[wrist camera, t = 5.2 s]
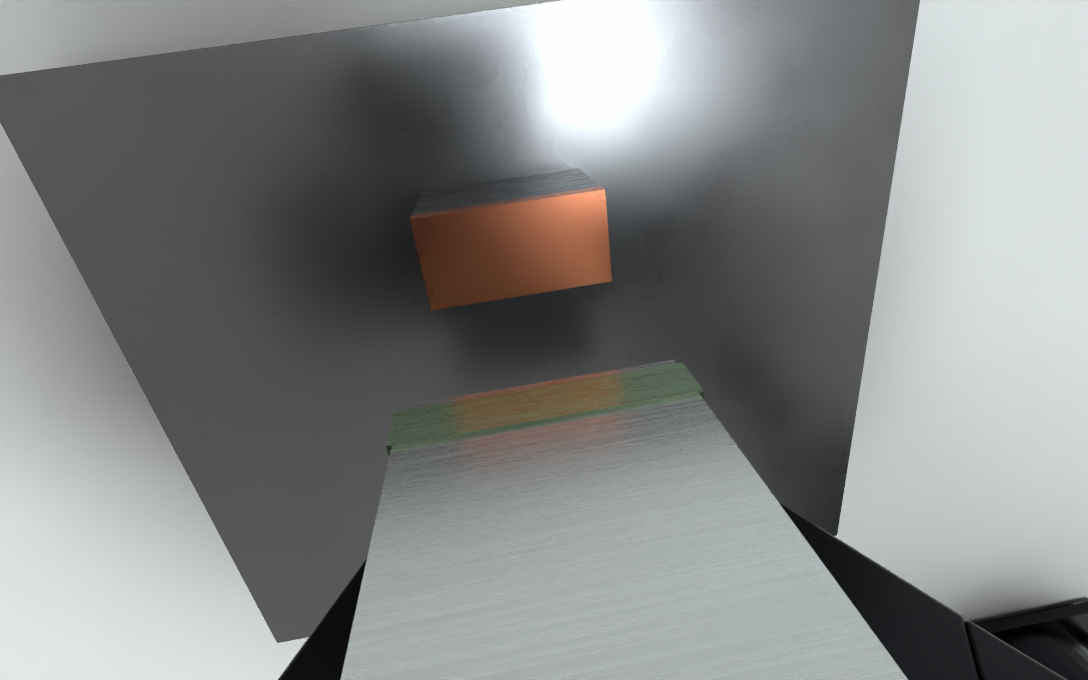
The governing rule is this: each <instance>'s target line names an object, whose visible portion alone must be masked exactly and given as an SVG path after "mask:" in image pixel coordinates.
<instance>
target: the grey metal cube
mask: <svg viewBox="0 0 1088 680" xmlns="http://www.w3.org/2000/svg"><path fill="white" fill-rule="evenodd" d="M386 448H387V452H388V455H389V460H388V465H387V470H386V474H385V479H384V483H383V488H382V492H381V497H380V502H379V506H378V511H377V515H376V520H375V524H374V529H373V533H372V538H371V543H370V547H369V552H368V556H367V561H366V565H365V570H364V575H363V579H362V584H361V588H360V593H359V597H358V602H357V607H356V611H355V616H354V620H353V625H352V629H351V634H350V639H349V643H348V648H347V652H346V657H345V661H344V666H343V670H342V675H341V680H908V679H907V678H906V676H905V675H904V673H903V672H902V671H901V669H900V668H899V667H898V665H897V664H896V662H895V661H894V660H893V658H892V657H891V656H890V654H889V653H888V651H887V650H886V649H885V647H884V646H883V645H882V643H881V642H880V641H879V639H878V638H877V636H876V635H875V634H874V632H873V631H872V630H871V628H870V627H869V625H868V624H867V623H866V621H865V620H864V619H863V617H862V616H861V615H860V613H859V612H858V610H857V609H856V608H855V606H854V605H853V604H852V602H851V601H850V599H849V598H848V597H847V595H846V594H845V593H844V591H843V590H842V589H841V587H840V586H839V584H838V583H837V582H836V580H835V579H834V578H833V576H832V575H831V573H830V572H829V571H828V569H827V568H826V567H825V565H824V564H823V562H822V561H821V560H820V558H819V557H818V556H817V554H816V553H815V552H814V550H813V549H812V547H811V546H810V545H809V543H808V542H807V541H806V539H805V538H804V536H803V535H802V534H801V532H800V531H799V530H798V528H797V527H796V526H795V524H794V523H793V521H792V520H791V519H790V517H789V516H788V515H787V513H786V512H785V510H784V509H783V508H782V506H781V505H780V504H779V502H778V501H777V500H776V498H775V497H774V495H773V494H772V493H771V491H770V490H769V489H768V487H767V486H766V484H765V483H764V482H763V480H762V479H761V478H760V476H759V475H758V474H757V472H756V471H755V469H754V468H753V467H752V465H751V464H750V463H749V461H748V460H747V458H746V457H745V456H744V454H743V453H742V452H741V450H740V449H739V447H738V446H737V445H736V443H735V442H734V441H733V439H732V438H731V437H730V435H729V434H728V432H727V431H726V430H725V428H724V427H723V426H722V424H721V423H720V421H719V420H718V419H717V417H716V416H715V415H714V413H713V412H712V411H711V409H710V408H709V406H708V405H707V404H706V402H705V401H704V390H703V389H702V388H701V387H700V385H699V384H698V383H697V381H696V380H695V379H694V377H693V376H692V375H691V373H690V372H689V371H688V369H687V368H686V367H685V365H684V364H683V363H682V362H681V363H676V361H675V360H668V361H662V362H656V363H651V364H645V365H639V366H633V367H627V368H621V369H616V370H610V371H604V372H598V373H592V374H586V375H581V376H575V377H569V378H563V379H557V380H551V381H546V382H540V383H534V384H528V385H522V386H516V387H511V388H505V389H499V390H493V391H487V392H482V393H476V394H470V395H464V396H458V397H452V398H447V399H441V400H435V401H429V402H423V403H417V404H412V405H406V406H400V410H399V411H396V412H394V415H393V419H392V423H391V427H390V432H389V436H388V440H387V444H386Z"/></svg>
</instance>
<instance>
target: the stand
mask: <svg viewBox="0 0 1088 680" xmlns="http://www.w3.org/2000/svg"><path fill="white" fill-rule="evenodd" d="M919 3H920V0H562V1H555V2H547V3H540V4H532V5H525V6H517V7H510V8H502V9H495V10H487V11H480V12H473V13H465V14H458V15H450V16H443V17H435V18H428V19H420V20H413V21H405V22H398V23H390V24H383V25H375V26H368V27H360V28H353V29H345V30H338V31H330V32H323V33H315V34H308V35H301V36H293V37H286V38H278V39H271V40H263V41H256V42H248V43H241V44H233V45H226V46H218V47H211V48H203V49H196V50H188V51H181V52H173V53H166V54H158V55H151V56H143V57H136V58H129V59H121V60H114V61H106V62H99V63H91V64H84V65H76V66H69V67H61V68H54V69H46V70H39V71H31V72H24V73H16V74H9V75H1V76H0V123H1V124H2V126H3V128H4V130H5V132H6V134H7V136H8V138H9V139H10V141H11V143H12V145H13V147H14V149H15V151H16V153H17V154H18V156H19V158H20V160H21V162H22V164H23V166H24V168H25V170H26V171H27V173H28V175H29V177H30V179H31V181H32V183H33V185H34V186H35V188H36V190H37V192H38V194H39V196H40V198H41V200H42V201H43V203H44V205H45V207H46V209H47V211H48V213H49V215H50V217H51V218H52V220H53V222H54V224H55V226H56V228H57V230H58V232H59V233H60V235H61V237H62V239H63V241H64V243H65V245H66V247H67V248H68V250H69V252H70V254H71V256H72V258H73V260H74V262H75V264H76V265H77V267H78V269H79V271H80V273H81V275H82V277H83V279H84V280H85V282H86V284H87V286H88V288H89V290H90V292H91V294H92V295H93V297H94V299H95V301H96V303H97V305H98V307H99V309H100V311H101V312H102V314H103V316H104V318H105V320H106V322H107V324H108V326H109V327H110V329H111V331H112V333H113V335H114V337H115V339H116V341H117V342H118V344H119V346H120V348H121V350H122V352H123V354H124V356H125V358H126V359H127V361H128V363H129V365H130V367H131V369H132V371H133V373H134V374H135V376H136V378H137V380H138V382H139V384H140V386H141V388H142V390H143V391H144V393H145V395H146V397H147V399H148V401H149V403H150V405H151V406H152V408H153V410H154V412H155V414H156V416H157V418H158V420H159V421H160V423H161V425H162V427H163V429H164V431H165V433H166V435H167V437H168V438H169V440H170V442H171V444H172V446H173V448H174V450H175V452H176V453H177V455H178V457H179V459H180V461H181V463H182V465H183V467H184V468H185V470H186V472H187V474H188V476H189V478H190V480H191V482H192V484H193V485H194V487H195V489H196V491H197V493H198V495H199V497H200V499H201V500H202V502H203V504H204V506H205V508H206V510H207V512H208V514H209V515H210V517H211V519H212V521H213V523H214V525H215V527H216V529H217V531H218V532H219V534H220V536H221V538H222V540H223V542H224V544H225V546H226V547H227V549H228V551H229V553H230V555H231V557H232V559H233V561H234V562H235V564H236V566H237V568H238V570H239V572H240V574H241V576H242V578H243V579H244V581H245V583H246V585H247V587H248V589H249V591H250V593H251V594H252V596H253V598H254V600H255V602H256V604H257V606H258V608H259V609H260V611H261V613H262V615H263V617H264V619H265V621H266V623H267V625H268V626H269V628H270V630H271V632H272V634H273V636H274V638H275V640H276V641H277V643H280V642H285V641H290V640H295V639H300V638H306V637H310V635H311V634H312V632H313V631H314V630H315V628H316V627H317V626H318V624H319V623H320V622H321V620H322V619H323V617H324V616H325V615H326V613H327V612H328V611H329V609H330V608H331V607H332V605H333V604H334V602H335V601H336V600H337V598H338V597H339V596H340V594H341V593H342V592H343V590H344V589H345V587H346V586H347V585H348V583H349V582H350V581H351V579H352V578H353V577H354V575H355V574H356V572H357V571H358V570H359V568H360V567H361V566H362V564H363V563H364V561H365V560H366V559H367V556H368V552H369V547H370V543H371V538H372V533H373V529H374V524H375V520H376V515H377V511H378V506H379V502H380V497H381V492H382V488H383V483H384V479H385V474H386V470H387V465H388V460H389V455H388V452H387V448H386V444H387V440H388V436H389V432H390V427H391V423H392V419H393V415H394V412H396V411H399V410H400V406H406V405H412V404H417V403H423V402H429V401H435V400H441V399H447V398H452V397H458V396H464V395H470V394H476V393H482V392H487V391H493V390H499V389H505V388H511V387H516V386H522V385H528V384H534V383H540V382H546V381H551V380H557V379H563V378H569V377H575V376H581V375H586V374H592V373H598V372H604V371H610V370H616V369H621V368H627V367H633V366H639V365H645V364H651V363H656V362H662V361H668V360H675V361H676V363H681V362H682V363H683V364H684V365H685V367H686V368H687V369H688V371H689V372H690V373H691V375H692V376H693V377H694V379H695V380H696V381H697V383H698V384H699V385H700V387H701V388H702V389H703V390H704V401H705V402H706V404H707V405H708V406H709V408H710V409H711V411H712V412H713V413H714V415H715V416H716V417H717V419H718V420H719V421H720V423H721V424H722V426H723V427H724V428H725V430H726V431H727V432H728V434H729V435H730V437H731V438H732V439H733V441H734V442H735V443H736V445H737V446H738V447H739V449H740V450H741V452H742V453H743V454H744V456H745V457H746V458H747V460H748V461H749V463H750V464H751V465H752V467H753V468H754V469H755V471H756V472H757V474H758V475H759V476H760V478H761V479H762V480H763V482H764V483H765V484H766V486H767V487H768V489H769V490H770V491H771V493H772V494H773V495H774V497H775V498H776V500H777V501H778V502H780V503H781V504H783V505H784V506H786V507H788V508H789V509H791V510H792V511H794V512H796V513H797V514H799V515H800V516H802V517H804V518H805V519H807V520H808V521H810V522H812V523H813V524H815V525H817V526H818V527H820V528H821V529H823V530H825V531H826V532H828V533H829V534H831V535H833V536H835V535H837V532H838V525H839V519H840V512H841V506H842V499H843V493H844V487H845V480H846V474H847V467H848V461H849V454H850V448H851V441H852V435H853V428H854V422H855V416H856V409H857V403H858V396H859V390H860V383H861V377H862V370H863V364H864V358H865V351H866V345H867V338H868V332H869V325H870V319H871V312H872V306H873V299H874V293H875V287H876V280H877V274H878V267H879V261H880V254H881V248H882V241H883V235H884V229H885V222H886V216H887V209H888V203H889V196H890V190H891V183H892V177H893V170H894V164H895V158H896V151H897V145H898V138H899V132H900V125H901V119H902V112H903V106H904V99H905V93H906V87H907V80H908V74H909V67H910V61H911V54H912V48H913V41H914V35H915V29H916V22H917V16H918V9H919Z"/></svg>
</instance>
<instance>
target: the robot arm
mask: <svg viewBox="0 0 1088 680" xmlns="http://www.w3.org/2000/svg"><path fill="white" fill-rule="evenodd" d="M779 504H780V505H781V506H782V508H783V509H784V510H785V512H786V513H787V515H788V516H789V517H790V519H791V520H792V521H793V523H794V524H795V526H796V527H797V528H798V530H799V531H800V532H801V534H802V535H803V536H804V538H805V539H806V541H807V542H808V543H809V545H810V546H811V547H812V549H813V550H814V552H815V553H816V554H817V556H818V557H819V558H820V560H821V561H822V562H823V564H824V565H825V567H826V568H827V569H828V571H829V572H830V573H831V575H832V576H833V578H834V579H835V580H836V582H837V583H838V584H839V586H840V587H841V589H842V590H843V591H844V593H845V594H846V595H847V597H848V598H849V599H850V601H851V602H852V604H853V605H854V606H855V608H856V609H857V610H858V612H859V613H860V615H861V616H862V617H863V619H864V620H865V621H866V623H867V624H868V625H869V627H870V628H871V630H872V631H873V632H874V634H875V635H876V636H877V638H878V639H879V641H880V642H881V643H882V645H883V646H884V647H885V649H886V650H887V651H888V653H889V654H890V656H891V657H892V658H893V660H894V661H895V662H896V664H897V665H898V667H899V668H900V669H901V671H902V672H903V673H904V675H905V676H906V678H907V679H908V680H1088V602H1086V603H1081V604H1076V605H1071V606H1066V607H1062V608H1057V609H1052V610H1047V611H1042V612H1037V613H1032V614H1027V615H1023V616H1018V617H1013V618H1008V619H1003V620H998V621H993V622H988V623H983V624H979V625H976V624H974V623H973V622H971V621H965V622H964V619H963V617H962V616H961V615H960V614H958V613H956V612H955V611H953V610H952V609H950V608H948V607H947V606H945V605H944V604H942V603H940V602H939V601H937V600H935V599H934V598H932V597H931V596H929V595H927V594H926V593H924V592H923V591H921V590H919V589H918V588H916V587H915V586H913V585H911V584H910V583H908V582H907V581H905V580H903V579H902V578H900V577H898V576H897V575H895V574H894V573H892V572H890V571H889V570H887V569H886V568H884V567H882V566H881V565H879V564H878V563H876V562H874V561H873V560H871V559H870V558H868V557H866V556H865V555H863V554H862V553H860V552H858V551H857V550H855V549H853V548H852V547H850V546H849V545H847V544H845V543H844V542H842V541H841V540H839V539H837V538H836V537H834V536H833V535H831V534H829V533H828V532H826V531H825V530H823V529H821V528H820V527H818V526H817V525H815V524H813V523H812V522H810V521H808V520H807V519H805V518H804V517H802V516H800V515H799V514H797V513H796V512H794V511H792V510H791V509H789V508H788V507H786V506H784V505H783V504H781V503H780V502H779ZM366 561H367V559H366V560H365V561H364V563H363V564H362V566H361V567H360V568H359V570H358V571H357V572H356V574H355V575H354V577H353V578H352V579H351V581H350V582H349V583H348V585H347V586H346V587H345V589H344V590H343V592H342V593H341V594H340V596H339V597H338V598H337V600H336V601H335V602H334V604H333V605H332V607H331V608H330V609H329V611H328V612H327V613H326V615H325V616H324V617H323V619H322V620H321V622H320V623H319V624H318V626H317V627H316V628H315V630H314V631H313V632H312V634H311V635H310V637H309V638H308V639H307V641H306V642H305V643H304V645H303V646H302V648H301V649H300V650H299V652H298V653H297V654H296V656H295V657H294V658H293V660H292V661H291V663H290V664H289V665H288V667H287V668H286V669H285V671H284V672H283V673H282V675H281V676H280V678H279V679H278V680H341V675H342V670H343V666H344V661H345V657H346V652H347V648H348V643H349V639H350V634H351V629H352V625H353V620H354V616H355V611H356V607H357V602H358V597H359V593H360V588H361V584H362V579H363V575H364V570H365V565H366Z"/></svg>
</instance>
